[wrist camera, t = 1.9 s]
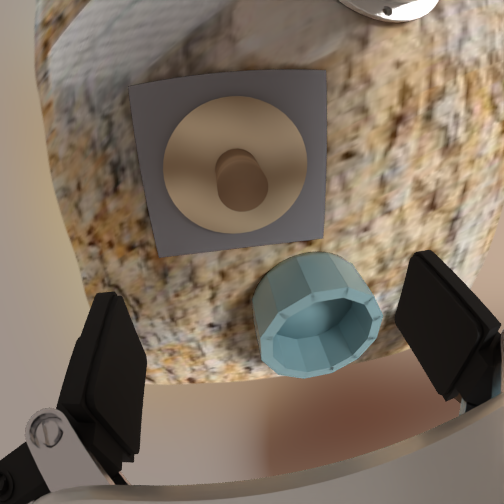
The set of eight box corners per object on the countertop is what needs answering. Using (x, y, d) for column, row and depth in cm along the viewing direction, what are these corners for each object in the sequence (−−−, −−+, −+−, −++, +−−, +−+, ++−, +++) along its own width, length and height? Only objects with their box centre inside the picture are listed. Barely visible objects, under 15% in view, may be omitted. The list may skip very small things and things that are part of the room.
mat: (129, 86, 19) (128, 86, 18) (324, 70, 20) (326, 70, 19) (159, 255, 26) (159, 257, 26) (321, 236, 27) (323, 238, 27)
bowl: (248, 259, 27) (257, 300, 23) (365, 245, 28) (392, 279, 24) (255, 344, 33) (263, 385, 28) (350, 328, 34) (368, 364, 29)
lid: (155, 106, 19) (141, 113, 15) (302, 92, 20) (327, 97, 16) (176, 236, 25) (171, 272, 21) (303, 221, 26) (323, 252, 21)
